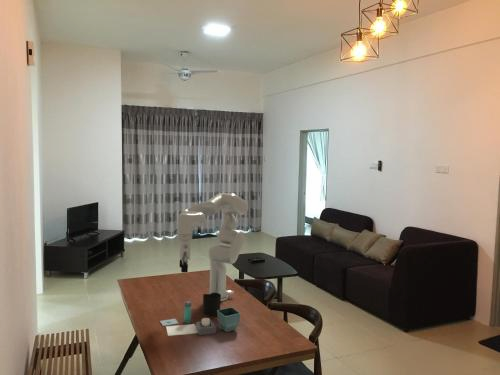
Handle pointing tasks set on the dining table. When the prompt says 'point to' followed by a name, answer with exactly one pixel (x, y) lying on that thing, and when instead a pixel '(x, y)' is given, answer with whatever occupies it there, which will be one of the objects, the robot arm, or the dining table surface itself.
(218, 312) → the flower pot
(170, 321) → the card
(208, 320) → the cream ball
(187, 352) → the dining table surface
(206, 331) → the button box
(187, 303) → the marker
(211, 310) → the pen holder
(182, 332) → the paper
